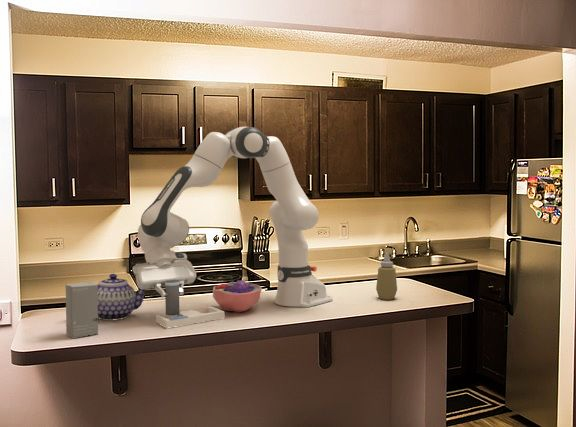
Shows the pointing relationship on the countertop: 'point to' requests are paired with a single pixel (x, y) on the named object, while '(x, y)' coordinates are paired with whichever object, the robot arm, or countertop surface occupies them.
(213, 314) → the cream holder tray
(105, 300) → the teapot
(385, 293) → the squeeze bottle
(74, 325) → the skincare box
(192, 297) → the countertop surface
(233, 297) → the cell model
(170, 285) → the stub
